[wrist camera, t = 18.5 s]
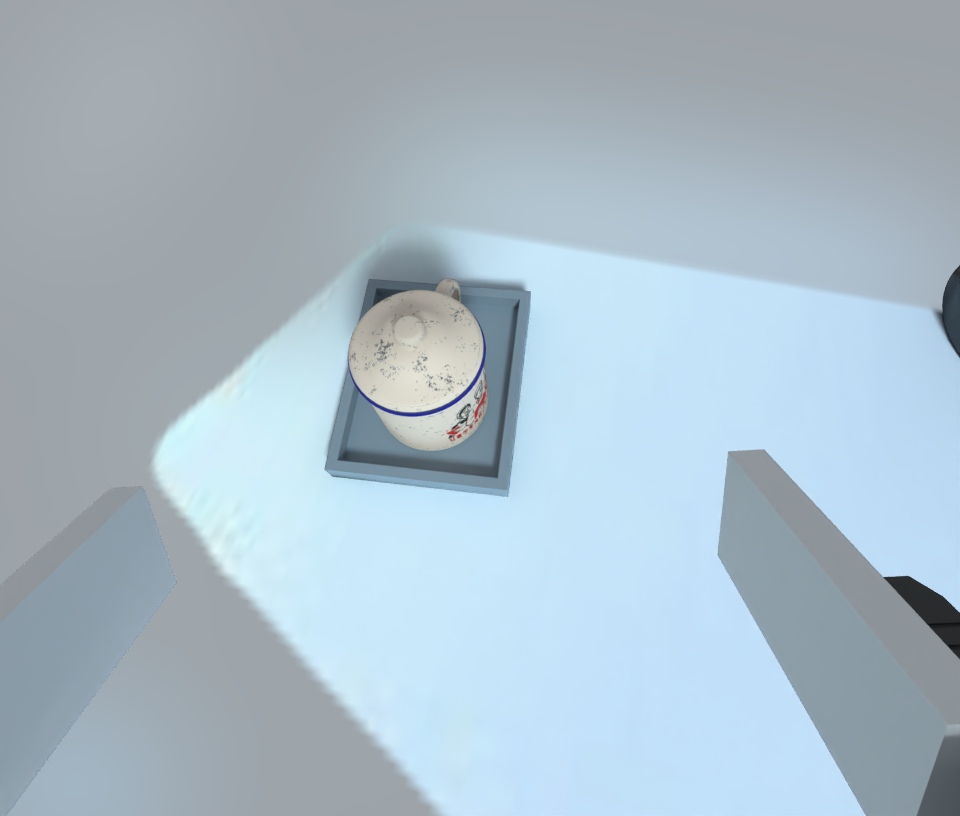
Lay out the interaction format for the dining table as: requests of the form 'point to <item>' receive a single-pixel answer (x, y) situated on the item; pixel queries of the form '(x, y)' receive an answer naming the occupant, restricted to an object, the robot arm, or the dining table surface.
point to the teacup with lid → (422, 366)
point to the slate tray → (483, 455)
